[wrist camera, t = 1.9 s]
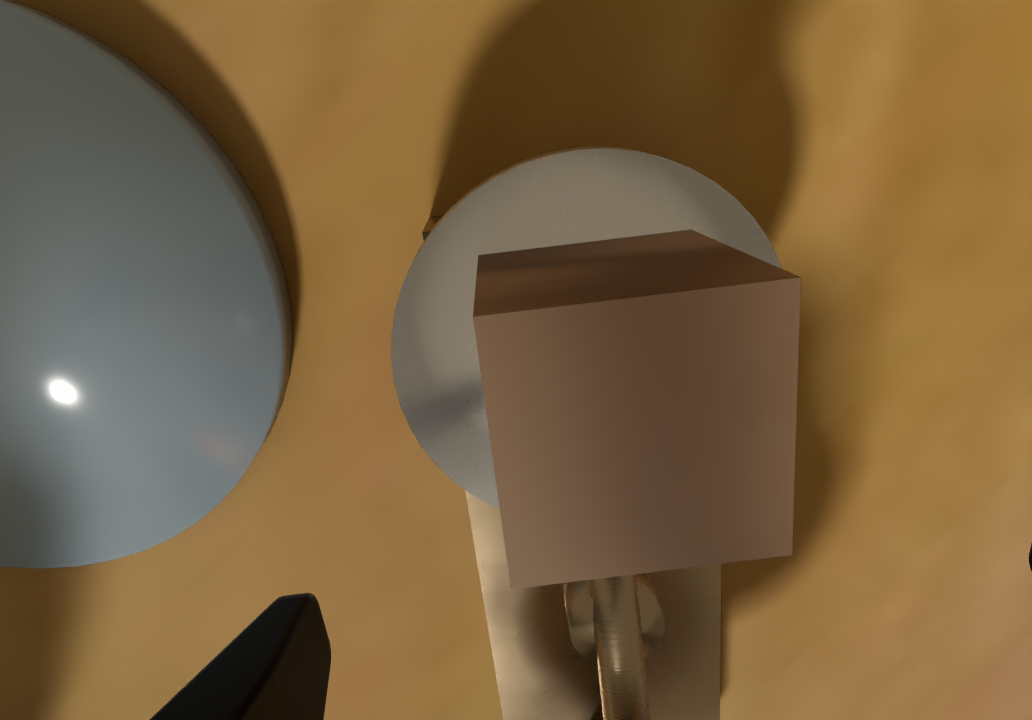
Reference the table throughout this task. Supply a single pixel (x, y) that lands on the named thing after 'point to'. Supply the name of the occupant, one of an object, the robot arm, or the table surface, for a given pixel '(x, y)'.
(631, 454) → the walnut block
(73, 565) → the dish
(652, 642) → the balance
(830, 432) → the table surface
